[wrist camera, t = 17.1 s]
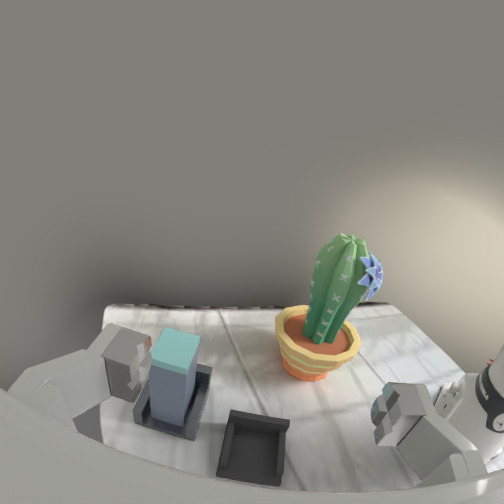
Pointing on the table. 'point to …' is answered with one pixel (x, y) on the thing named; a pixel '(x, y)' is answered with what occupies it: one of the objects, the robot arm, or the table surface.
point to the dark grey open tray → (253, 448)
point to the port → (194, 414)
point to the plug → (173, 375)
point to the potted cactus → (328, 310)
